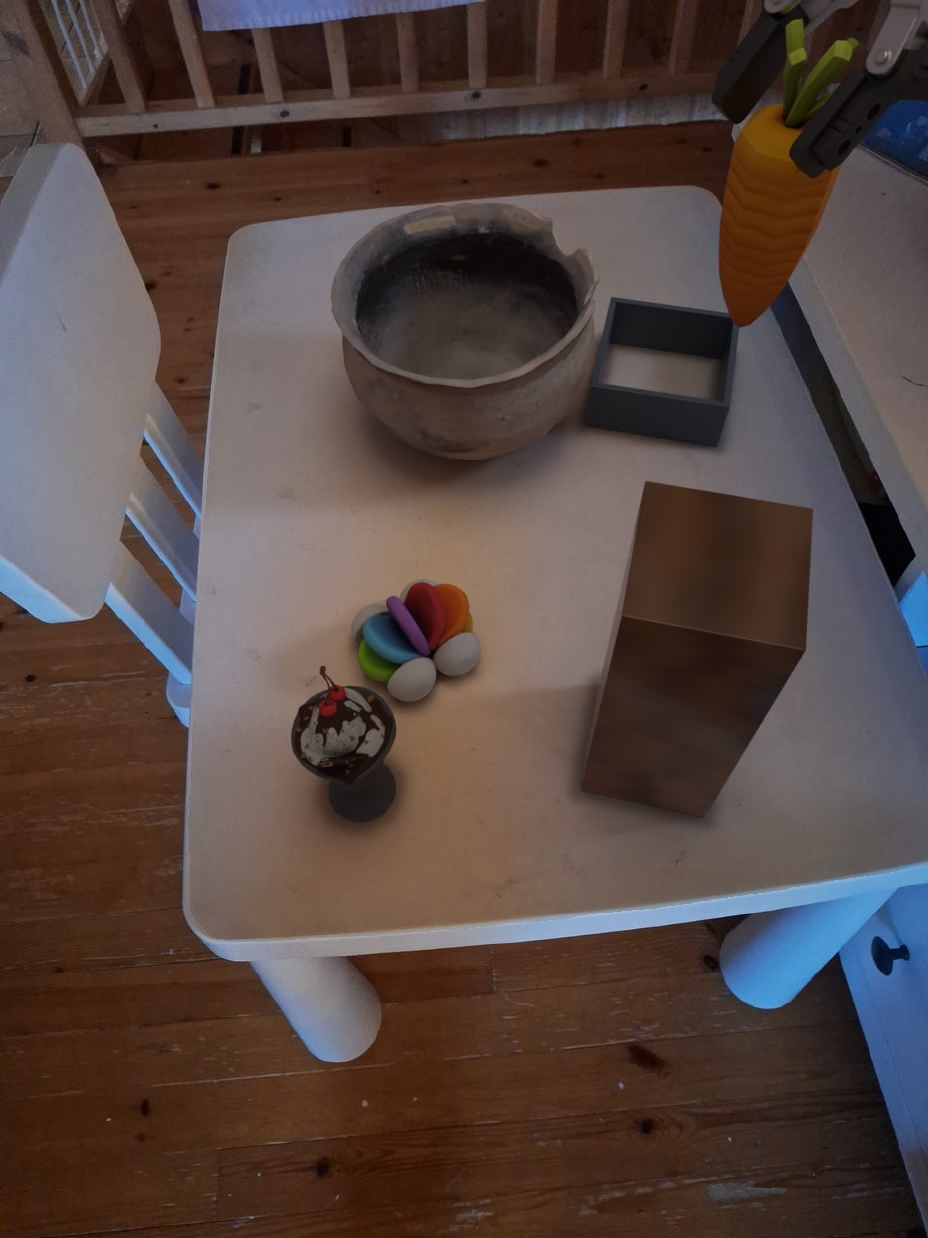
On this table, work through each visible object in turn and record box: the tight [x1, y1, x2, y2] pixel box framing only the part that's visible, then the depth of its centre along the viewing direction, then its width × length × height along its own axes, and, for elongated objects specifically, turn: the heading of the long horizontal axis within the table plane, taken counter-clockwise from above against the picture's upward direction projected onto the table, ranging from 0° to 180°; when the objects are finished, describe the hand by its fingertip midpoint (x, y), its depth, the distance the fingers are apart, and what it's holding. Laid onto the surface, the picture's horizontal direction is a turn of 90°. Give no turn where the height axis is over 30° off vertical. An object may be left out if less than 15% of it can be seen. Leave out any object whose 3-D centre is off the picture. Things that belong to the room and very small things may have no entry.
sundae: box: [290, 665, 397, 823], centre depth 59 cm, size 7×7×15 cm
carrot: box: [718, 19, 860, 329], centre depth 43 cm, size 5×5×15 cm
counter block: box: [579, 480, 814, 818], centre depth 57 cm, size 9×9×24 cm
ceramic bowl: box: [330, 202, 601, 461], centre depth 79 cm, size 22×22×15 cm
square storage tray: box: [584, 296, 740, 447], centre depth 84 cm, size 12×12×5 cm
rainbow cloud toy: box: [350, 578, 481, 702], centre depth 69 cm, size 8×10×7 cm
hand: (762, 137), depth 39 cm, fingers closed on carrot, 4 cm apart
